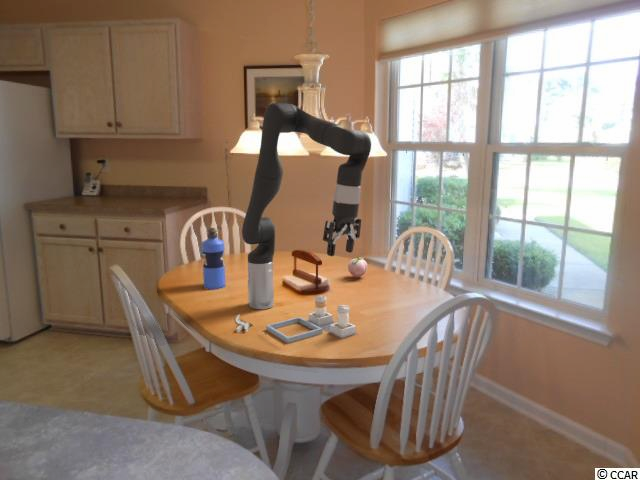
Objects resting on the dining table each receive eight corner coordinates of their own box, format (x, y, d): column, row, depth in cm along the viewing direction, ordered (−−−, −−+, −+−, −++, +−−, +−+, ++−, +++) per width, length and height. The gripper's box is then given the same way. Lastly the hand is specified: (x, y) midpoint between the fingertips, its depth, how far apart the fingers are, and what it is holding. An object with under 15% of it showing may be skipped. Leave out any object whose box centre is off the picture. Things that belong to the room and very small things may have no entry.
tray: (266, 332, 156) (266, 325, 156) (299, 323, 164) (299, 316, 163) (287, 346, 146) (287, 338, 146) (322, 336, 154) (322, 328, 153)
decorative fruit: (352, 274, 224) (352, 253, 222) (369, 276, 220) (369, 255, 218) (344, 279, 215) (344, 257, 213) (361, 281, 212) (362, 259, 210)
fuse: (334, 332, 154) (334, 306, 152) (343, 329, 156) (344, 304, 155) (342, 336, 151) (342, 310, 149) (351, 333, 153) (351, 307, 152)
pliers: (265, 313, 170) (256, 329, 156) (265, 317, 171) (256, 334, 156) (237, 312, 171) (226, 328, 157) (238, 316, 172) (226, 333, 157)
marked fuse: (312, 320, 164) (312, 296, 162) (321, 318, 166) (321, 294, 164) (319, 324, 161) (319, 299, 159) (328, 321, 163) (328, 297, 161)
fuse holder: (306, 323, 164) (306, 313, 164) (322, 318, 168) (322, 309, 168) (341, 341, 149) (341, 331, 148) (358, 336, 153) (358, 326, 153)
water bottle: (224, 282, 211) (222, 225, 206) (227, 288, 202) (224, 229, 197) (202, 284, 208) (199, 226, 203) (204, 290, 200) (201, 230, 194)
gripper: (351, 197, 148) (345, 247, 152) (320, 198, 138) (314, 253, 141) (371, 201, 143) (364, 254, 147) (340, 204, 133) (333, 260, 137)
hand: (339, 253), depth 144 cm, fingers open, 8 cm apart
